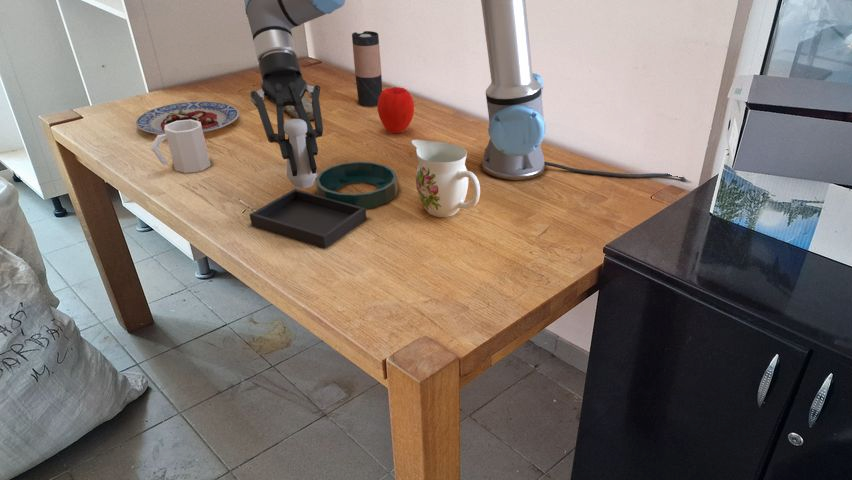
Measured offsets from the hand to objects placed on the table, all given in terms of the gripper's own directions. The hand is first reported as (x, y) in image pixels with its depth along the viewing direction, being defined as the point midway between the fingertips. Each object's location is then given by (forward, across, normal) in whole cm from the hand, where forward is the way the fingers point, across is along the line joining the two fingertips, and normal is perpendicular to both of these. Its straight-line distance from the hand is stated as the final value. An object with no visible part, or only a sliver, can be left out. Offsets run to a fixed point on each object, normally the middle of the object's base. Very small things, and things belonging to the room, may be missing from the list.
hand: (304, 171), depth 125 cm
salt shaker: (0, 0, -6) cm, 6 cm away
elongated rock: (-47, -8, -66) cm, 81 cm away
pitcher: (+10, -28, -8) cm, 31 cm away
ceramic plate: (-41, +20, -60) cm, 75 cm away
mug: (-20, +22, -38) cm, 49 cm away
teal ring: (-1, -13, -19) cm, 23 cm away
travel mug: (-42, -31, -61) cm, 80 cm away
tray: (+6, 0, -12) cm, 13 cm away
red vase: (-24, -32, -43) cm, 58 cm away
